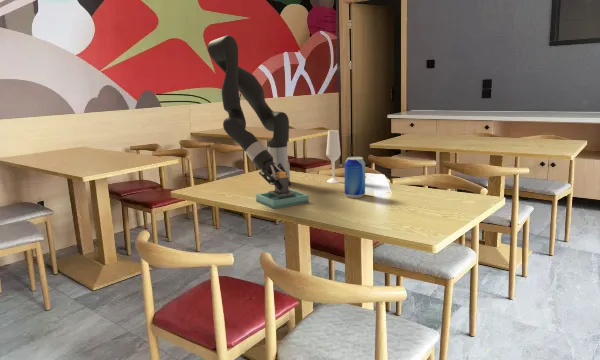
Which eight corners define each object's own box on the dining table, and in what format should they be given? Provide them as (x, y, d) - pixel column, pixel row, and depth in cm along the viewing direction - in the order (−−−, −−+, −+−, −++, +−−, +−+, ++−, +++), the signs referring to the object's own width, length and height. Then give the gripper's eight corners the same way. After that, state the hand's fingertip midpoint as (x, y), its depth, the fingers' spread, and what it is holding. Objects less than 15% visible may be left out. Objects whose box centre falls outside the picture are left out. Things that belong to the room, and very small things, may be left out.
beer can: (341, 197, 201) (341, 159, 198) (349, 192, 208) (349, 155, 205) (360, 199, 197) (360, 160, 194) (367, 194, 204) (368, 156, 201)
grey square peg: (283, 195, 198) (283, 170, 196) (288, 197, 195) (288, 172, 192) (275, 196, 196) (274, 172, 194) (280, 198, 192) (279, 173, 190)
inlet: (285, 195, 201) (285, 188, 200) (296, 199, 194) (295, 192, 194) (268, 198, 197) (268, 191, 196) (278, 202, 190) (278, 195, 189)
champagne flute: (339, 183, 227) (339, 131, 222) (325, 182, 228) (325, 131, 223) (341, 180, 233) (341, 129, 228) (327, 179, 235) (327, 129, 230)
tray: (290, 195, 206) (289, 188, 205) (308, 202, 194) (308, 195, 193) (256, 201, 197) (256, 194, 196) (273, 209, 186) (273, 201, 185)
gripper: (254, 151, 189) (281, 184, 185) (274, 146, 201) (300, 177, 198) (243, 164, 192) (270, 197, 189) (263, 158, 205) (289, 189, 201)
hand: (285, 186), depth 193 cm, fingers closed on grey square peg, 5 cm apart
